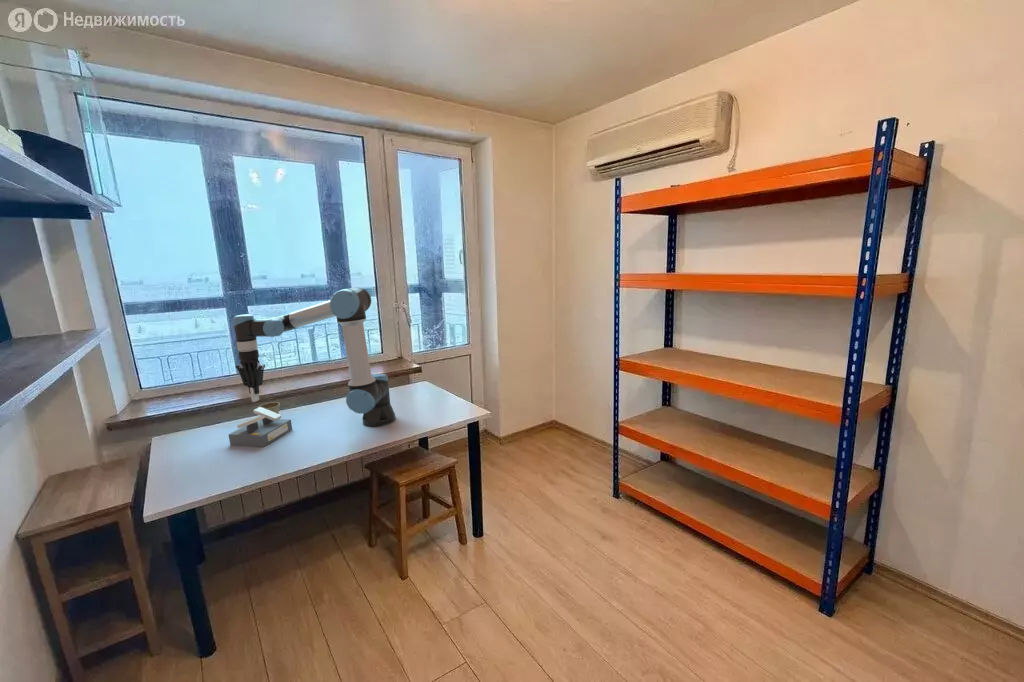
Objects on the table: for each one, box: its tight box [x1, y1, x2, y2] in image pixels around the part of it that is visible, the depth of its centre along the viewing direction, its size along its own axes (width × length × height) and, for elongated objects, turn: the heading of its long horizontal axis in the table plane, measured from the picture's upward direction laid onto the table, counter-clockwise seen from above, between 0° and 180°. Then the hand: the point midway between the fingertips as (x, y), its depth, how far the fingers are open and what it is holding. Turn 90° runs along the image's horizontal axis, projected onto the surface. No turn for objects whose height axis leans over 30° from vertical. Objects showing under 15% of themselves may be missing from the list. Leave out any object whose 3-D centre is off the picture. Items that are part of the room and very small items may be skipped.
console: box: [228, 418, 293, 448], centre depth 183 cm, size 16×18×8 cm
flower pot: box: [257, 401, 281, 414], centre depth 200 cm, size 9×9×9 cm
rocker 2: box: [252, 407, 282, 421], centre depth 186 cm, size 11×4×1 cm, turn 81°
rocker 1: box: [236, 415, 265, 430], centre depth 177 cm, size 11×4×1 cm, turn 80°
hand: (255, 400), depth 185 cm, fingers closed
